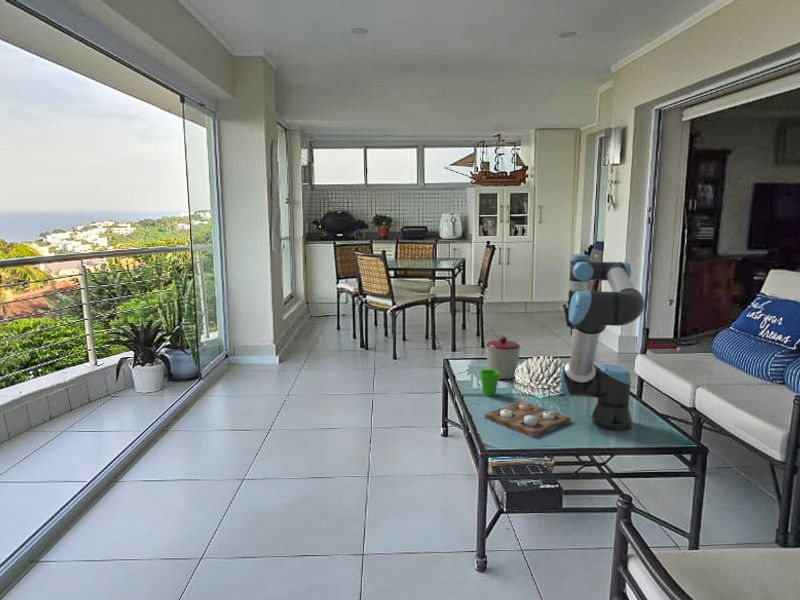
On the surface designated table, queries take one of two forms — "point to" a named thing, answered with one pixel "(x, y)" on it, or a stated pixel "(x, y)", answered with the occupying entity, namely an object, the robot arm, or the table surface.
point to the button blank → (530, 421)
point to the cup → (489, 381)
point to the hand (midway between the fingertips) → (574, 343)
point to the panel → (518, 419)
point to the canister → (503, 356)
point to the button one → (506, 413)
